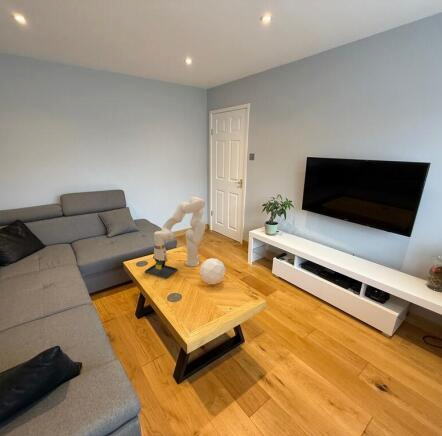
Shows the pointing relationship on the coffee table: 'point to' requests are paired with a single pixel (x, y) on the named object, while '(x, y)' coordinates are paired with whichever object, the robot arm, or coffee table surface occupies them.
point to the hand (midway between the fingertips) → (160, 266)
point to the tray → (161, 271)
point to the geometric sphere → (212, 271)
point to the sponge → (159, 264)
